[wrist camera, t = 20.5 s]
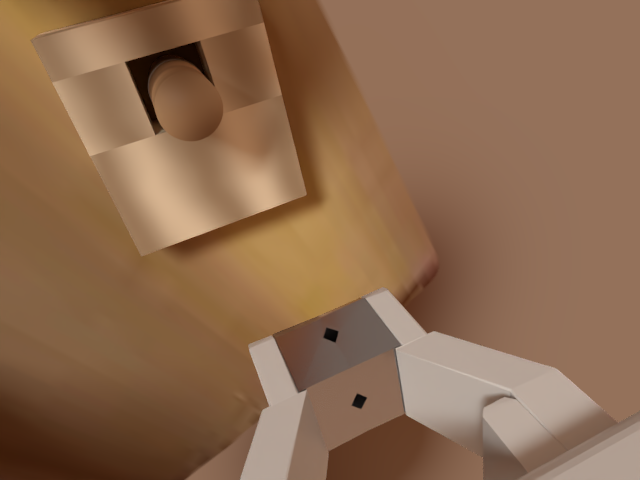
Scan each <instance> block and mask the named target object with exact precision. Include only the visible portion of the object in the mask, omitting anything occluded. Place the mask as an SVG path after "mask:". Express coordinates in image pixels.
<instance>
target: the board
mask: <svg viewBox="0 0 640 480" xmlns="http://www.w3.org/2000/svg"><path fill="white" fill-rule="evenodd" d="M31 42H32V44H33V46H34V48H35V50H36V52H37V54H38V56H39V57H40V59H41V61H42V63H43V65H44V67H45V69H46V71H47V73H48V75H49V77H50V79H51V81H52V83H53V85H54V87H55V89H56V91H57V93H58V95H59V97H60V98H61V100H62V102H63V104H64V106H65V108H66V110H67V112H68V114H69V116H70V118H71V120H72V122H73V124H74V126H75V128H76V130H77V132H78V134H79V136H80V138H81V140H82V141H83V143H84V145H85V147H86V149H87V151H88V153H89V155H90V157H91V159H92V161H93V163H94V165H95V167H96V169H97V171H98V173H99V175H100V177H101V179H102V181H103V182H104V184H105V186H106V188H107V190H108V192H109V194H110V196H111V198H112V200H113V202H114V204H115V206H116V208H117V210H118V212H119V214H120V216H121V218H122V220H123V222H124V223H125V225H126V227H127V229H128V231H129V233H130V235H131V237H132V239H133V241H134V243H135V245H136V247H137V249H138V251H139V253H140V255H141V256H144V255H147V254H149V253H152V252H155V251H157V250H160V249H163V248H165V247H168V246H171V245H174V244H176V243H179V242H182V241H184V240H187V239H190V238H192V237H195V236H198V235H201V234H203V233H206V232H209V231H211V230H214V229H217V228H219V227H222V226H225V225H228V224H230V223H233V222H236V221H238V220H241V219H244V218H246V217H249V216H252V215H254V214H257V213H260V212H263V211H265V210H268V209H271V208H273V207H276V206H279V205H281V204H284V203H287V202H290V201H292V200H295V199H298V198H300V197H303V196H306V195H307V193H306V189H305V185H304V181H303V177H302V173H301V169H300V165H299V161H298V157H297V153H296V149H295V145H294V141H293V137H292V133H291V129H290V125H289V121H288V117H287V113H286V109H285V105H284V101H283V97H282V93H281V89H280V85H279V81H278V77H277V73H276V69H275V65H274V61H273V57H272V53H271V49H270V45H269V41H268V37H267V33H266V29H265V25H264V21H263V17H262V13H261V9H260V5H259V1H258V0H167V1H163V2H159V3H156V4H152V5H148V6H144V7H140V8H136V9H133V10H129V11H125V12H121V13H117V14H114V15H110V16H106V17H102V18H98V19H94V20H91V21H87V22H83V23H79V24H75V25H72V26H68V27H64V28H60V29H56V30H52V31H49V32H45V33H41V34H39V35H37V36H36V37H34V38H33V39H32V40H31ZM193 42H194V43H195V46H196V49H197V52H198V55H199V58H200V61H201V64H202V67H203V70H204V73H205V76H206V78H207V79H208V80H209V81H210V82H211V83H212V84H213V86H214V87H215V88H216V89H217V91H218V92H219V94H220V96H221V99H222V102H223V116H222V120H221V122H220V124H219V126H218V128H217V129H216V130H215V131H214V132H213V133H212V134H211V135H210V136H208V137H206V138H204V139H202V140H198V141H183V140H179V139H177V138H175V137H173V136H171V135H170V134H168V133H167V132H166V131H165V130H164V129H163V127H162V126H161V125H160V123H159V121H158V119H157V120H154V121H151V119H150V116H149V114H148V111H147V109H146V107H145V104H144V102H143V99H142V97H141V95H140V92H139V90H138V87H137V85H136V82H135V80H134V78H133V75H132V73H131V70H130V68H129V66H128V63H127V61H130V60H133V59H137V58H140V57H144V56H147V55H151V54H155V53H158V52H162V51H165V50H169V49H172V48H176V47H179V46H183V45H186V44H190V43H193Z"/></svg>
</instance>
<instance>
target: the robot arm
mask: <svg viewBox="0 0 640 480" xmlns="http://www.w3.org/2000/svg"><path fill="white" fill-rule="evenodd" d="M248 346H249V351H250V354H251V357H252V359H253V362H254V365H255V368H256V370H257V373H258V376H259V379H260V381H261V384H262V387H263V390H264V392H265V395H266V398H267V401H268V403H269V406H270V407H268V408H266V409H263V410H262V413H261V416H260V419H259V422H258V425H257V428H256V431H255V435H254V437H253V440H252V444H251V447H250V450H249V453H248V456H247V459H246V462H245V465H244V468H243V472H242V474H241V478H240V480H326V473H327V465H328V456H329V454H328V451H329V450H331V449H334V448H335V447H337V446H339V445H341V444H343V443H345V442H347V441H349V440H351V439H353V438H354V437H356V436H358V435H360V434H362V433H364V432H365V431H368V430H370V429H372V428H374V427H377V426H379V425H381V424H383V423H385V422H387V421H390V420H392V419H394V418H396V417H398V416H401V415H403V414H405V413H406V415H407V416H409V417H410V418H412V419H414V420H416V421H418V422H419V423H421V424H423V425H425V426H427V427H429V428H430V429H432V430H434V431H436V432H438V433H440V434H441V435H443V436H445V437H447V438H448V439H450V440H452V441H454V442H456V443H458V444H459V445H461V446H463V447H465V448H467V449H468V450H470V451H472V452H474V453H476V454H477V455H480V456H481V457H483V476H484V477H483V479H484V480H640V411H639V412H637V413H635V414H633V415H631V416H630V417H628V418H626V419H624V420H622V421H621V422H619V423H618V422H617V421H616V420H614V419H613V418H612V417H611V416H610V415H609V414H607V412H605V411H604V410H603V409H602V408H601V407H600V406H598V405H597V404H596V403H595V402H594V401H593V400H592V399H591V398H589V397H588V396H587V395H586V394H585V393H584V392H583V391H582V390H580V389H579V388H578V387H577V386H576V385H575V384H574V383H572V382H571V381H570V380H569V379H568V378H567V377H565V376H564V375H563V374H562V373H561V372H560V371H559V370H557V369H556V368H553V367H550V366H546V365H543V364H540V363H537V362H533V361H530V360H527V359H524V358H520V357H517V356H514V355H511V354H507V353H504V352H501V351H497V350H494V349H491V348H488V347H485V346H481V345H478V344H475V343H472V342H468V341H465V340H462V339H459V338H455V337H452V336H449V335H445V334H442V333H439V332H435V331H433V332H431V333H429V334H427V333H426V332H425V331H424V329H423V328H422V327H421V326H420V325H419V324H418V323H417V322H416V320H415V319H414V318H413V317H412V316H411V315H410V314H409V313H408V311H407V310H406V309H405V308H404V307H403V306H402V305H401V304H400V303H399V301H398V300H397V299H396V298H395V297H394V296H393V295H392V294H391V293H390V291H389V290H388V289H386V288H384V287H382V288H380V289H378V290H375V291H373V292H371V293H369V294H367V295H364V296H362V298H358V299H356V300H354V301H351V302H349V303H347V304H345V305H342V306H340V307H338V308H335V309H333V310H331V311H329V312H326V313H324V314H322V315H319V316H317V317H315V318H312V319H310V320H307V321H305V322H302V323H300V324H297V325H295V326H292V327H290V328H287V329H285V330H282V331H280V332H277V333H275V334H273V336H269V337H266V338H264V339H261V340H259V341H256V342H254V343H251V344H249V345H248Z"/></svg>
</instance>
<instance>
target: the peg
mask: <svg viewBox="0 0 640 480" xmlns="http://www.w3.org/2000/svg"><path fill="white" fill-rule="evenodd" d="M148 93H149V96H150V99H151V101H152V103H153V106H154V109H155V113H156V116H157V119H158V121H159V123H160V125H161V126H162V127H163V129H164V130H165V131H166V132H167V133H168V134H170V135H171V136H173V137H175V138H177V139H179V140H183V141H198V140H202V139H204V138H206V137H208V136H210V135H211V134H212V133H213V132H214V131H215V130H216V129H217V128H218V126H219V124H220V122H221V120H222V116H223V102H222V99H221V96H220V94H219V92H218V91H217V89H216V88H215V87H214V86H213V84H212V83H211V82H210V81H209V80H208V79H207V78H206V77H205V76H204V75H203V73H202V72H201V71H200V70H199V69H198V68H197V67H196V66H195V65H194V64H192V63H191V62H188V61H186V60H184V59H183V58H181V57H179V56H176V55H164V56H161V57H159V58H157V59H156V60H155V61H154V62H153V63H152V64H151V66H150V69H149V72H148Z"/></svg>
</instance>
